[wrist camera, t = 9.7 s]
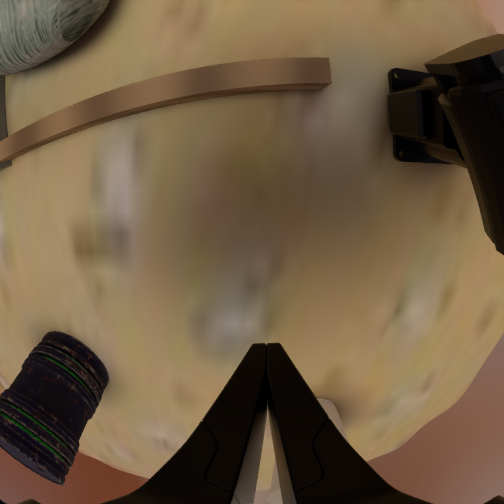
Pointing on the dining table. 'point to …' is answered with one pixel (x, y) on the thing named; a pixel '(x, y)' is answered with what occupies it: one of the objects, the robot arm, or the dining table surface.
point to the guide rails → (171, 96)
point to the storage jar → (51, 405)
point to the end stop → (3, 120)
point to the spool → (42, 29)
